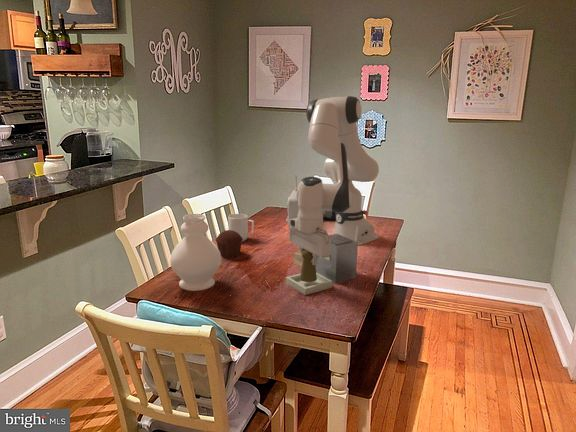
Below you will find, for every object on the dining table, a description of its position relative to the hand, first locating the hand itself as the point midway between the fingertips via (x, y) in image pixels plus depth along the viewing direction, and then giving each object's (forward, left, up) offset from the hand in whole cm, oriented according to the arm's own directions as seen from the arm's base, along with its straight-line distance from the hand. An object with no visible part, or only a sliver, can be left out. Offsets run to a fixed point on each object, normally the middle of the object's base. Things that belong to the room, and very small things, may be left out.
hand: (309, 262), depth 169 cm
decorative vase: (+33, -23, -9) cm, 41 cm away
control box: (-14, -2, -9) cm, 17 cm away
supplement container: (-61, -64, -9) cm, 89 cm away
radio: (-41, -67, -9) cm, 79 cm away
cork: (0, 0, -6) cm, 7 cm away
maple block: (-10, -18, -9) cm, 22 cm away
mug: (-5, -58, -9) cm, 59 cm away
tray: (0, 0, -9) cm, 9 cm away
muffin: (+9, -44, -9) cm, 46 cm away
